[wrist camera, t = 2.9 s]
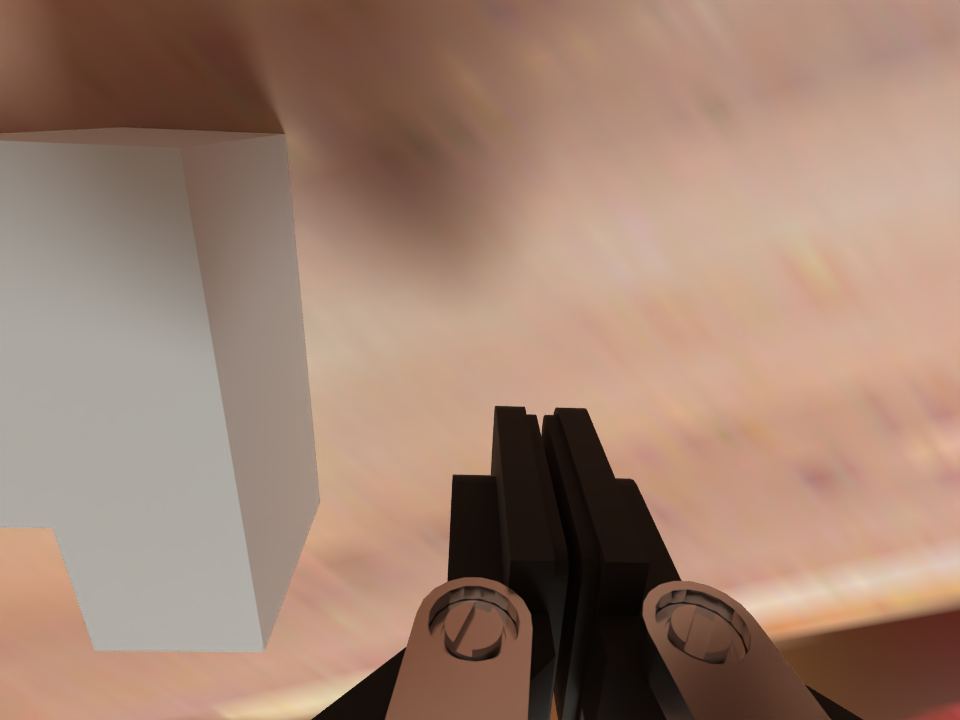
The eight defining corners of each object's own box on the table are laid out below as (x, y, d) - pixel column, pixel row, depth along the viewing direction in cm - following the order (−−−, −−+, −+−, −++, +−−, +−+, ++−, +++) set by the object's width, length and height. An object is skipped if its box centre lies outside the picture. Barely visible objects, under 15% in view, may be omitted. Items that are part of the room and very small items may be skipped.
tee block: (-189, 114, 12) (-593, 116, 7) (285, 134, 12) (179, 147, 8) (-33, 495, 16) (-231, 648, 11) (320, 501, 16) (264, 651, 12)
